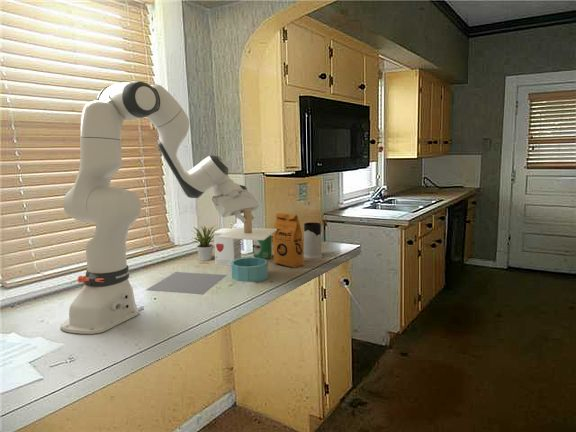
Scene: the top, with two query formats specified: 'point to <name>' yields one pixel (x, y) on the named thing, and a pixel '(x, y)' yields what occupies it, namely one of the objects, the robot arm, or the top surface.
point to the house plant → (204, 244)
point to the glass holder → (312, 240)
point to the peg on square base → (247, 230)
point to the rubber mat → (187, 283)
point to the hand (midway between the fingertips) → (249, 220)
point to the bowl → (249, 269)
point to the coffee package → (288, 241)
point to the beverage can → (263, 248)
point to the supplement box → (226, 248)
